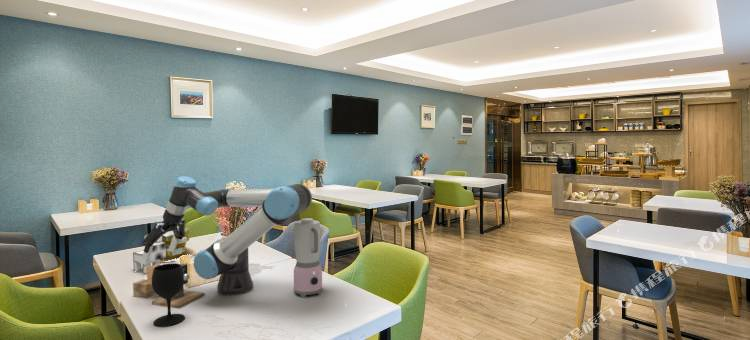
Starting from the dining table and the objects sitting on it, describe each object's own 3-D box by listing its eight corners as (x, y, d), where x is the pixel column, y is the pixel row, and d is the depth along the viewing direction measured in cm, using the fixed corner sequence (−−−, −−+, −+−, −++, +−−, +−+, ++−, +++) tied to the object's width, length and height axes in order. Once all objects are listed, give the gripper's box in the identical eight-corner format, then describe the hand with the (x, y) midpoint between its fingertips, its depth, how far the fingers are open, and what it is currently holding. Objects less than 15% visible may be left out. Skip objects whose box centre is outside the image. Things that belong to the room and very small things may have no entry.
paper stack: (202, 256, 230) (201, 227, 229) (156, 266, 212) (155, 235, 211) (184, 249, 247) (183, 222, 246) (140, 257, 228) (139, 228, 227)
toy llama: (145, 267, 210) (143, 229, 208) (166, 271, 202) (165, 233, 200) (130, 271, 203) (129, 232, 202) (152, 276, 195) (150, 236, 194)
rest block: (156, 293, 171) (155, 280, 171) (146, 298, 166) (145, 284, 166) (143, 292, 173) (143, 279, 173) (133, 296, 168) (132, 283, 168)
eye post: (188, 294, 168) (187, 264, 167) (173, 301, 160) (172, 269, 159) (183, 293, 169) (182, 263, 168) (168, 300, 161) (167, 269, 160)
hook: (192, 285, 165) (192, 268, 164) (184, 288, 160) (184, 271, 160) (156, 280, 170) (155, 264, 170) (147, 284, 166) (146, 267, 166)
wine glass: (177, 312, 152) (175, 261, 151) (190, 319, 145) (188, 266, 144) (148, 321, 144) (146, 267, 143) (160, 329, 137) (158, 273, 136)
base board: (204, 295, 169) (204, 292, 169) (179, 308, 156) (179, 305, 156) (178, 292, 173) (178, 289, 173) (151, 304, 160) (151, 301, 160)
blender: (289, 290, 174) (288, 218, 172) (314, 285, 181) (313, 215, 179) (303, 302, 161) (302, 224, 159) (330, 296, 168) (329, 221, 166)
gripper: (190, 203, 179) (175, 243, 183) (143, 211, 155) (126, 257, 159) (203, 211, 177) (187, 252, 181) (156, 220, 153) (139, 266, 157)
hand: (158, 254), depth 170 cm, fingers open, 13 cm apart
